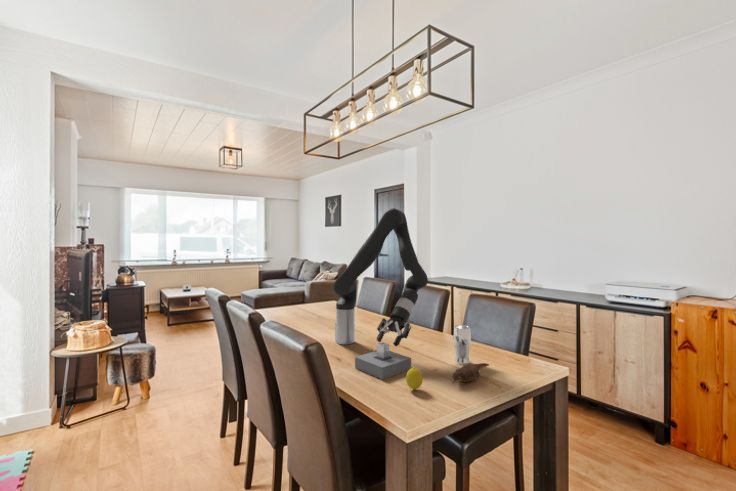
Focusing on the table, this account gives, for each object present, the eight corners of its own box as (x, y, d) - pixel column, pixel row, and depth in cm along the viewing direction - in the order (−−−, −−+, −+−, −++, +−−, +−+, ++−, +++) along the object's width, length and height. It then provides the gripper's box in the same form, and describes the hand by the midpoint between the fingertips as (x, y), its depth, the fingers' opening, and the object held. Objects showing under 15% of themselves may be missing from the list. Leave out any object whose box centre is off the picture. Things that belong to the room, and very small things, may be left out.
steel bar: (377, 368, 144) (377, 344, 144) (382, 366, 147) (382, 342, 147) (383, 370, 142) (383, 345, 142) (389, 368, 144) (389, 343, 144)
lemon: (404, 387, 126) (404, 364, 126) (420, 386, 127) (420, 364, 127) (407, 393, 121) (407, 370, 121) (424, 393, 121) (424, 369, 121)
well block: (355, 367, 145) (355, 356, 145) (383, 359, 156) (383, 348, 156) (382, 379, 133) (382, 367, 133) (411, 369, 144) (411, 358, 144)
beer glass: (471, 360, 153) (472, 326, 153) (469, 366, 147) (469, 329, 146) (455, 358, 156) (455, 324, 156) (452, 363, 150) (452, 328, 149)
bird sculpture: (494, 372, 140) (494, 360, 139) (460, 392, 122) (460, 377, 122) (479, 368, 144) (479, 356, 144) (443, 386, 127) (443, 372, 127)
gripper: (385, 303, 157) (369, 335, 149) (413, 307, 148) (397, 341, 140) (392, 313, 161) (376, 344, 153) (420, 318, 152) (404, 351, 144)
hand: (386, 343), depth 146 cm, fingers open, 8 cm apart
